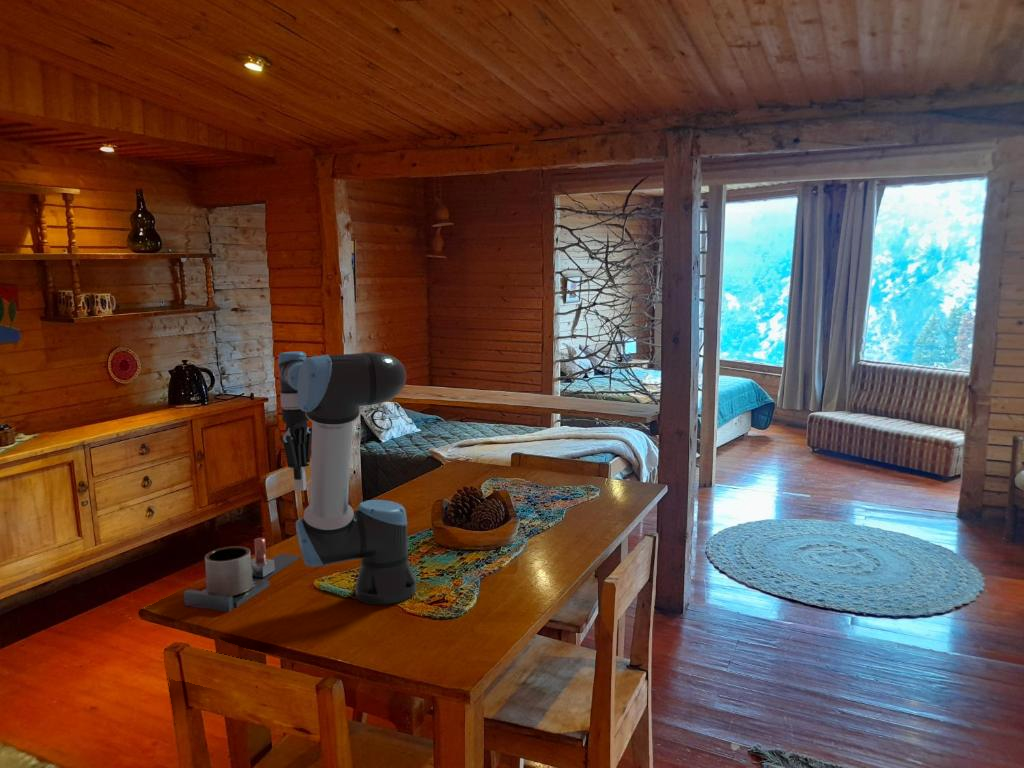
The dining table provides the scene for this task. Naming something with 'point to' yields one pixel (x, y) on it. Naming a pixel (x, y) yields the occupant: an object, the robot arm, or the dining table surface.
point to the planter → (229, 570)
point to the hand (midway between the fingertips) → (300, 489)
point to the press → (228, 601)
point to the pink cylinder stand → (261, 559)
